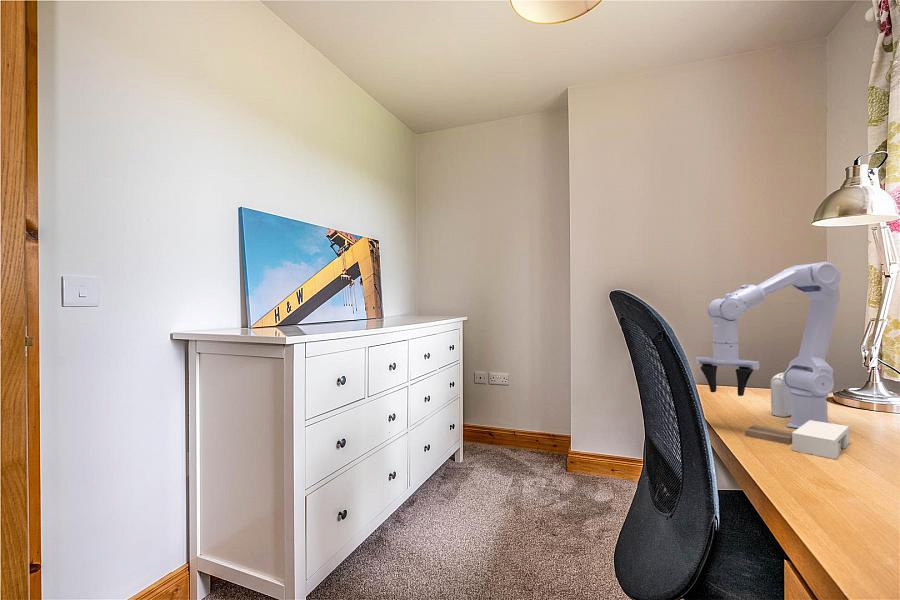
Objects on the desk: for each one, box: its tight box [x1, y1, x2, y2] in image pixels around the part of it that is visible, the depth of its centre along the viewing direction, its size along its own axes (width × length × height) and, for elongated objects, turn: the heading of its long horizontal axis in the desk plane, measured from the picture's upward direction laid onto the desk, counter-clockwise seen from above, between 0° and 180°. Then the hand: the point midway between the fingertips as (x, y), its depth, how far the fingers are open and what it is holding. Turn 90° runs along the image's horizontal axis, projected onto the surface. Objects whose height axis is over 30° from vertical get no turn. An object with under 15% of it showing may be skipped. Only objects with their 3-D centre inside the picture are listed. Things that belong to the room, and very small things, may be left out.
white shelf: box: [791, 420, 851, 460], centre depth 97 cm, size 16×7×4 cm, turn 128°
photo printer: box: [770, 372, 791, 418], centre depth 125 cm, size 10×4×12 cm, turn 123°
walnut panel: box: [744, 424, 794, 446], centre depth 104 cm, size 7×9×2 cm
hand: (726, 393), depth 112 cm, fingers open, 6 cm apart
